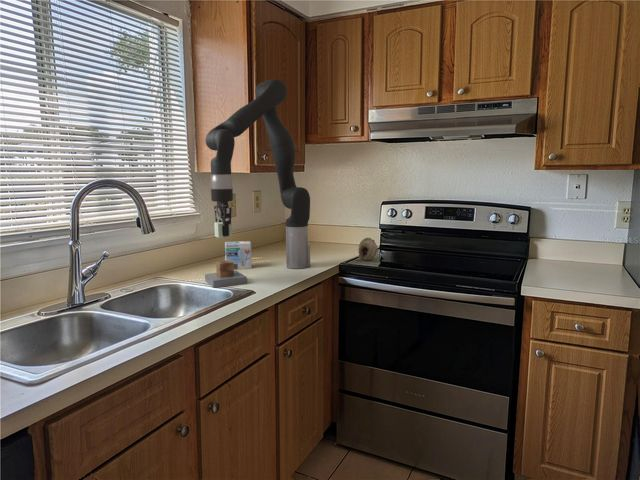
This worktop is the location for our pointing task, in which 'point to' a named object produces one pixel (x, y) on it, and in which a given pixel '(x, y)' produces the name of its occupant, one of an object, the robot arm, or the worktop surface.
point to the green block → (219, 230)
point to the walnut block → (225, 268)
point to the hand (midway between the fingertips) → (223, 235)
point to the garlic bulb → (367, 249)
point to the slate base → (225, 279)
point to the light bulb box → (239, 254)
